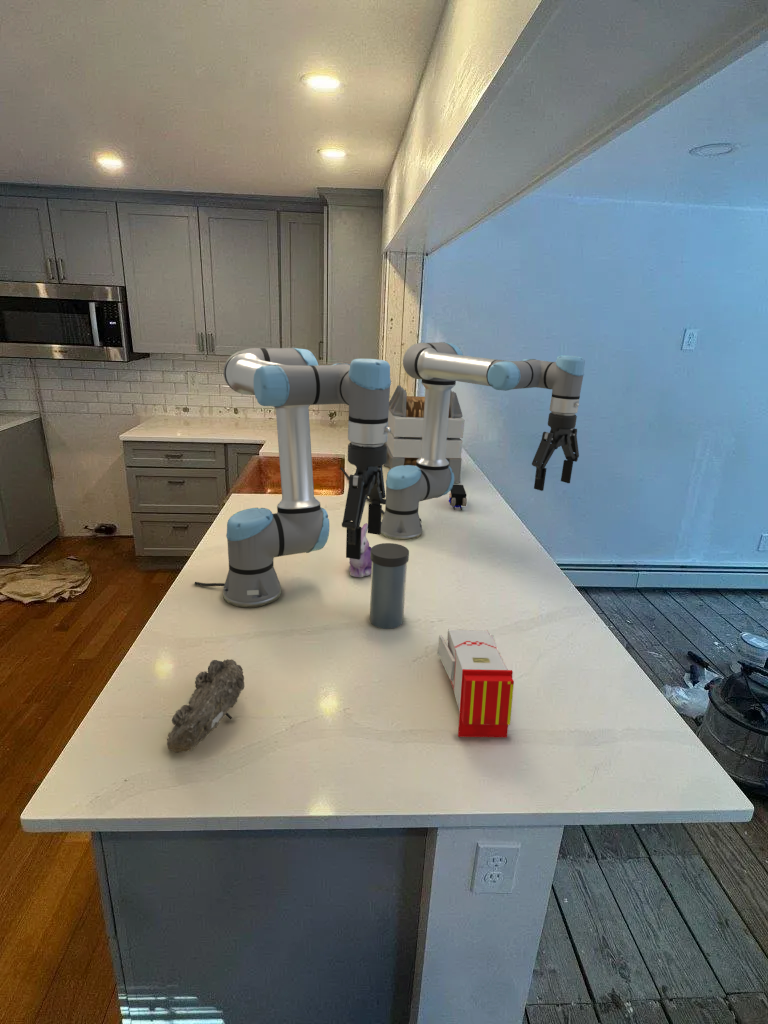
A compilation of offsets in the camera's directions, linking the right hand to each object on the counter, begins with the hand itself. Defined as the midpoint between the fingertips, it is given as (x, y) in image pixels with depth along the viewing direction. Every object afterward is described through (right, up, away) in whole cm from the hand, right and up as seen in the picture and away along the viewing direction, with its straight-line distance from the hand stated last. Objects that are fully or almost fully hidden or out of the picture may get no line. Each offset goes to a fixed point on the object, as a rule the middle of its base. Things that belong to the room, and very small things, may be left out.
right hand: (552, 485), depth 166 cm
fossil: (-82, -47, -57) cm, 110 cm away
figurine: (-56, -26, +5) cm, 62 cm away
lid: (-48, -17, -27) cm, 58 cm away
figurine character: (-20, -5, +65) cm, 68 cm away
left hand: (-53, -14, -50) cm, 74 cm away
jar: (-49, -35, -21) cm, 64 cm away
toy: (-31, -45, -47) cm, 72 cm away
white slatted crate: (-32, +11, +109) cm, 115 cm away
